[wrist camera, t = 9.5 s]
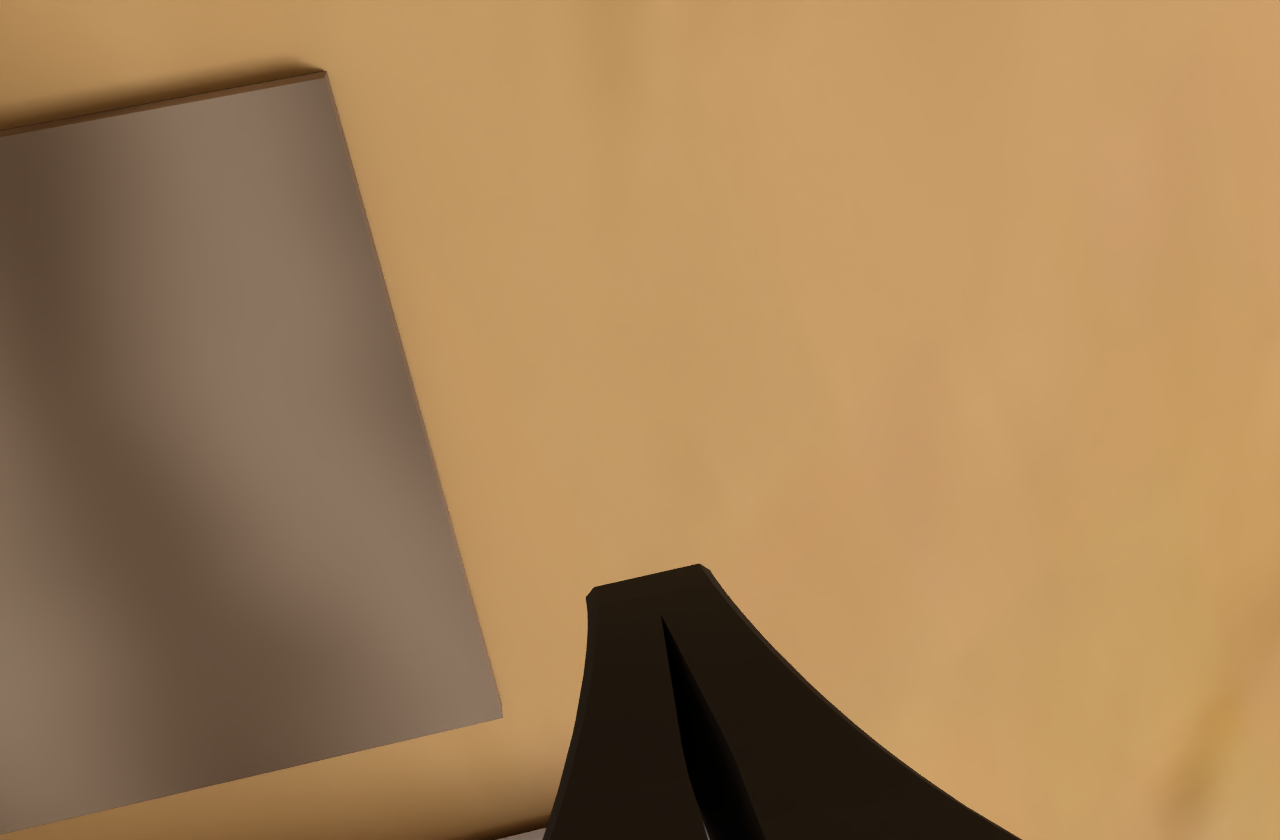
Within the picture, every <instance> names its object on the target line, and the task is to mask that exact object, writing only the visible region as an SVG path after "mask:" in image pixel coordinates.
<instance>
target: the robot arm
mask: <svg viewBox="0 0 1280 840" xmlns="http://www.w3.org/2000/svg"><path fill="white" fill-rule="evenodd" d="M586 603H587V611H588V636H587V650H586V658H585V667H584V676H583V681H582V687H581V693H580V698H579V704H578V710H577V715H576V721H575V726H574V730H573V735H572V739H571V743H570V747H569V750H568V754H567V758H566V762H565V766H564V770H563V774H562V778H561V782H560V785H559V789H558V792H557V796H556V799H555V802H554V806H553V809H552V812H551V815H550V818H549V821H548V824H547V827H546V828H543V829H539V830H534V831H530V832H526V833H522V834H518V835H514V836H510V837H505V838H501V839H497V840H1022V839H1020V838H1018V837H1017V836H1015V835H1013V834H1012V833H1010V832H1008V831H1007V830H1005V829H1003V828H1002V827H1000V826H998V825H996V824H995V823H993V822H991V821H990V820H988V819H986V818H985V817H983V816H981V815H980V814H978V813H976V812H975V811H973V810H971V809H970V808H968V807H966V806H965V805H963V804H962V803H960V802H959V801H957V800H956V799H954V798H953V797H952V796H950V795H949V794H947V793H946V792H944V791H943V790H941V789H940V788H938V787H937V786H936V785H934V784H933V783H931V782H930V781H928V780H927V779H925V778H924V777H922V776H921V775H920V774H918V773H917V772H916V771H914V770H913V769H912V768H910V767H909V766H908V765H906V764H905V763H903V762H902V761H901V760H899V759H898V758H897V757H895V756H894V755H893V754H891V753H890V752H889V751H887V750H886V749H885V748H884V747H882V746H881V745H880V744H879V743H877V742H876V741H875V740H874V739H872V738H871V737H870V736H869V735H867V734H866V733H865V732H864V731H863V730H861V729H860V728H859V727H858V726H857V725H855V724H854V723H853V722H852V721H851V720H850V719H849V718H847V717H846V716H845V715H844V714H843V713H842V712H841V711H839V710H838V709H837V708H836V707H835V706H834V705H833V704H831V703H830V702H829V701H828V700H827V699H826V698H825V697H824V696H823V695H821V694H820V693H819V692H818V691H817V690H816V689H815V688H814V687H813V686H812V685H811V684H810V683H809V682H808V681H807V680H806V679H805V678H804V677H803V676H802V675H801V674H800V673H799V672H798V671H797V670H796V669H795V668H794V667H793V666H792V665H791V664H790V663H789V662H788V661H787V660H786V659H785V658H784V657H783V656H782V655H781V654H780V653H779V652H778V651H777V650H776V649H775V648H774V647H773V646H772V645H771V644H770V643H769V642H768V641H767V640H766V639H765V638H764V637H763V636H762V635H761V633H760V632H759V631H758V630H757V629H756V628H755V627H754V626H753V624H752V623H751V622H750V621H749V620H748V619H747V618H746V616H745V615H744V614H743V613H742V612H741V611H740V609H739V608H738V607H737V606H736V605H735V603H734V602H733V601H732V600H731V598H730V597H729V596H728V595H727V593H726V592H725V591H724V589H723V588H722V587H721V585H720V584H719V583H718V581H717V580H716V579H715V577H714V576H713V574H712V573H711V571H710V570H709V569H707V568H706V567H704V566H702V565H701V564H695V565H691V566H686V567H682V568H677V569H673V570H668V571H664V572H660V573H655V574H651V575H646V576H642V577H637V578H633V579H628V580H624V581H619V582H615V583H611V584H606V585H602V586H597V587H594V588H593V589H592V590H591V592H590V593H589V594H588V595H587V597H586Z"/></svg>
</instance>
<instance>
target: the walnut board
mask: <svg viewBox="0 0 1280 840" xmlns="http://www.w3.org/2000/svg"><path fill="white" fill-rule="evenodd" d="M500 718H503V714H502V704H501V699H500V695H499V692H498V688H497V685H496V681H495V677H494V674H493V670H492V666H491V663H490V659H489V656H488V652H487V648H486V645H485V641H484V638H483V634H482V630H481V627H480V623H479V620H478V616H477V612H476V609H475V605H474V601H473V598H472V594H471V591H470V587H469V583H468V580H467V576H466V573H465V569H464V565H463V562H462V558H461V555H460V551H459V547H458V544H457V540H456V536H455V533H454V529H453V526H452V522H451V518H450V515H449V511H448V508H447V504H446V500H445V497H444V493H443V490H442V486H441V482H440V479H439V475H438V471H437V468H436V464H435V461H434V457H433V453H432V450H431V446H430V443H429V439H428V435H427V432H426V428H425V425H424V421H423V417H422V414H421V410H420V406H419V403H418V399H417V396H416V392H415V388H414V385H413V381H412V378H411V374H410V370H409V367H408V363H407V360H406V356H405V352H404V349H403V345H402V341H401V338H400V334H399V331H398V327H397V323H396V320H395V316H394V313H393V309H392V305H391V302H390V298H389V295H388V291H387V287H386V284H385V280H384V276H383V273H382V269H381V266H380V262H379V258H378V255H377V251H376V248H375V244H374V240H373V237H372V233H371V229H370V226H369V222H368V219H367V215H366V211H365V208H364V204H363V201H362V197H361V193H360V190H359V186H358V183H357V179H356V175H355V172H354V168H353V164H352V161H351V157H350V154H349V150H348V146H347V143H346V139H345V136H344V132H343V128H342V125H341V121H340V118H339V114H338V110H337V107H336V103H335V99H334V96H333V92H332V89H331V85H330V81H329V78H328V74H327V71H324V72H318V73H313V74H307V75H302V76H296V77H291V78H285V79H280V80H274V81H269V82H263V83H258V84H252V85H247V86H242V87H236V88H231V89H225V90H220V91H214V92H209V93H203V94H198V95H192V96H187V97H181V98H176V99H171V100H165V101H160V102H154V103H149V104H143V105H138V106H132V107H127V108H121V109H116V110H110V111H105V112H99V113H94V114H89V115H83V116H78V117H72V118H67V119H61V120H56V121H50V122H45V123H39V124H34V125H28V126H23V127H17V128H12V129H7V130H1V131H0V835H1V834H6V833H10V832H14V831H18V830H23V829H27V828H31V827H36V826H40V825H44V824H49V823H53V822H57V821H61V820H66V819H70V818H74V817H79V816H83V815H87V814H92V813H96V812H100V811H104V810H109V809H113V808H117V807H122V806H126V805H130V804H135V803H139V802H143V801H147V800H152V799H156V798H160V797H165V796H169V795H173V794H178V793H182V792H186V791H190V790H195V789H199V788H203V787H208V786H212V785H216V784H220V783H225V782H229V781H233V780H238V779H242V778H246V777H251V776H255V775H259V774H263V773H268V772H272V771H276V770H281V769H285V768H289V767H294V766H298V765H302V764H306V763H311V762H315V761H319V760H324V759H328V758H332V757H337V756H341V755H345V754H349V753H354V752H358V751H362V750H367V749H371V748H375V747H380V746H384V745H388V744H392V743H397V742H401V741H405V740H410V739H414V738H418V737H423V736H427V735H431V734H435V733H440V732H444V731H448V730H453V729H457V728H461V727H465V726H470V725H474V724H478V723H483V722H487V721H491V720H496V719H500Z"/></svg>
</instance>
